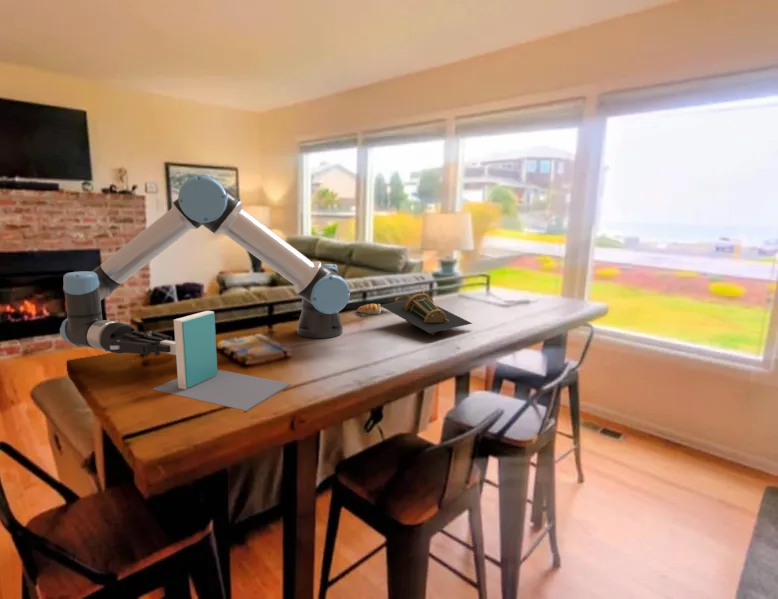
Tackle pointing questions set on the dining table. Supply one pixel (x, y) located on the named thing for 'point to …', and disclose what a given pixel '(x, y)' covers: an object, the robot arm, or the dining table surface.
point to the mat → (229, 390)
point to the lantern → (425, 313)
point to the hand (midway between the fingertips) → (183, 349)
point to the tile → (195, 348)
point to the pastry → (370, 309)
